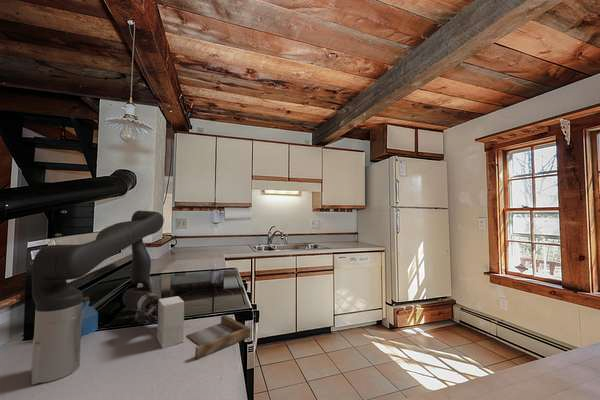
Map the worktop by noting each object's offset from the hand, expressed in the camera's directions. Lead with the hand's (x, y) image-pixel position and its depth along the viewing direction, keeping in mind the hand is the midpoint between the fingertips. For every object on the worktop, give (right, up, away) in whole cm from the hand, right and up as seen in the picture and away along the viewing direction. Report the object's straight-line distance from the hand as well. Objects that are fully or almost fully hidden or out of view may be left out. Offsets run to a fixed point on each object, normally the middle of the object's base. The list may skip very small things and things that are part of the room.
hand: (168, 316), depth 87 cm
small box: (+2, -7, -2) cm, 8 cm away
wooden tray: (+15, -7, -1) cm, 17 cm away
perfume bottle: (-32, -7, +3) cm, 33 cm away
